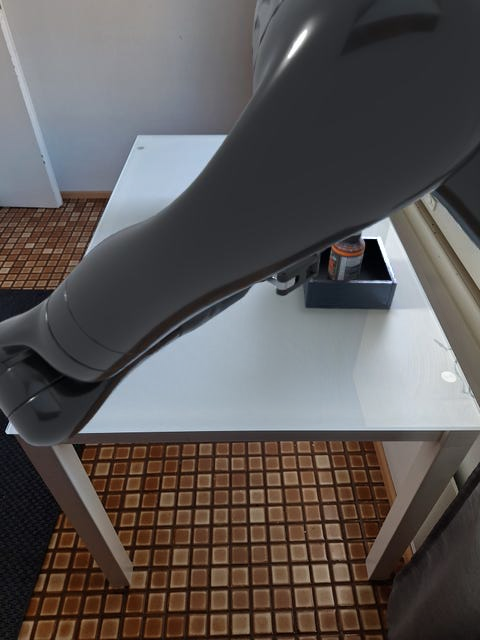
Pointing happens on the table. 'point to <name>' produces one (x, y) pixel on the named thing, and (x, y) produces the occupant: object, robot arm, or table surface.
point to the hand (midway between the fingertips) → (293, 224)
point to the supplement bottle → (346, 258)
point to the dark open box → (354, 282)
